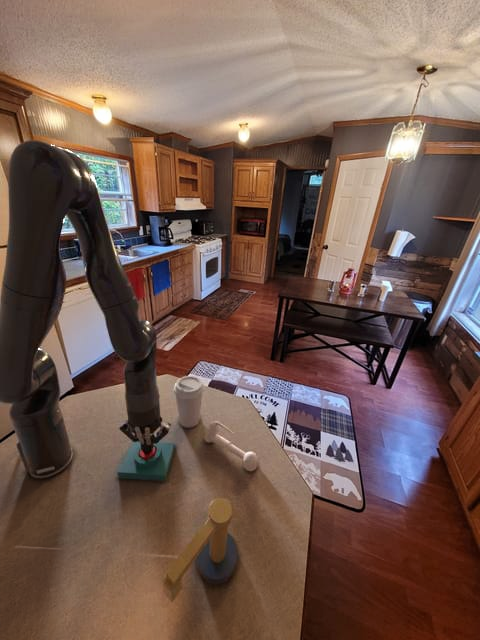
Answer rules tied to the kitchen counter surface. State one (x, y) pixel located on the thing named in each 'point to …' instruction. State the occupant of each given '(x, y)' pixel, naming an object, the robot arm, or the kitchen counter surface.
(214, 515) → the spout
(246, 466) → the faucet
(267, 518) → the kitchen counter surface
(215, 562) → the tap base
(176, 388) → the coffee cup
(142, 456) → the button
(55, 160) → the robot arm
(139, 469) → the control block
